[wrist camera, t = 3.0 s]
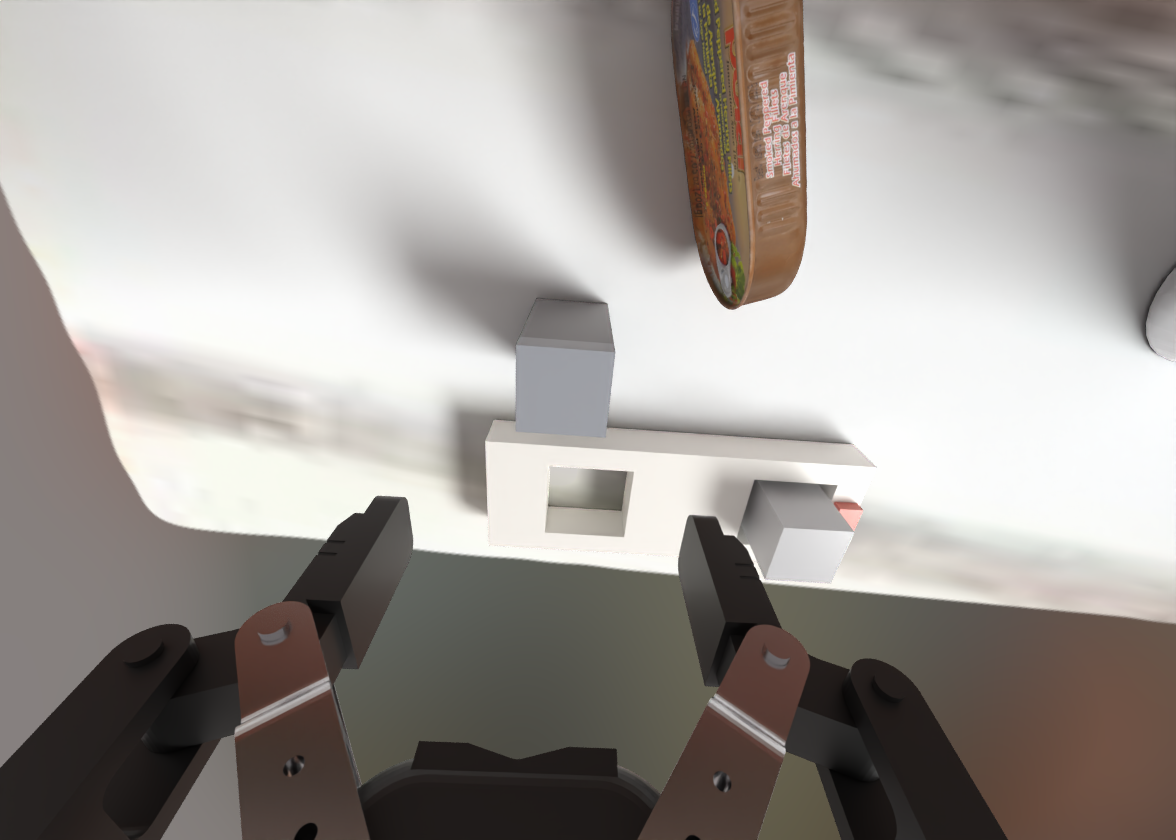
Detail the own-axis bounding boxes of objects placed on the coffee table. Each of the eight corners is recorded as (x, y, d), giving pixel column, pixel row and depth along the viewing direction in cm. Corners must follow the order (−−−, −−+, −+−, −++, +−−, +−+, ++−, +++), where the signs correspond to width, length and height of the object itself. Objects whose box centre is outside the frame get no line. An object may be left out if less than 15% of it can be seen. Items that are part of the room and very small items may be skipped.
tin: (661, -30, 21) (702, -149, 13) (729, -52, 20) (811, -186, 13) (700, 292, 28) (741, 332, 20) (752, 279, 27) (813, 316, 20)
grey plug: (747, 463, 33) (783, 527, 27) (805, 467, 34) (854, 532, 27) (734, 510, 36) (765, 579, 29) (788, 513, 36) (830, 583, 29)
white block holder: (493, 419, 32) (482, 447, 28) (853, 444, 33) (883, 474, 29) (496, 518, 36) (486, 553, 32) (814, 538, 37) (837, 574, 33)
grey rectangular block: (536, 298, 28) (515, 344, 20) (607, 303, 28) (615, 352, 20) (535, 365, 30) (515, 431, 22) (601, 369, 30) (605, 437, 22)
